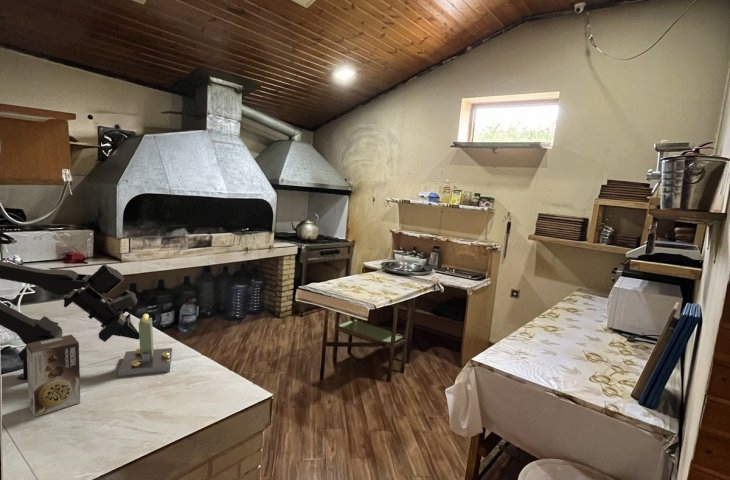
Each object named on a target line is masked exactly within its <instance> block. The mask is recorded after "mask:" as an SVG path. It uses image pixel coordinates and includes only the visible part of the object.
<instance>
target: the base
mask: <svg viewBox="0 0 730 480" xmlns="http://www.w3.org/2000/svg"><path fill="white" fill-rule="evenodd" d="M172 357H173V348H172V347H169V348H168V347H166V348H155V349H154V352H153V357H152V358H150V352H148V353H142V360H141V355H140V347H139V348H136V349H135V350H132V351H131V350H130V351H125V353H124V356H123V358H122V360H121V364H120V365H119V369H118V378H124V377H134V376H144V375H153V374H154V375H155V374H164V373H170V372H171V365H172V359H173V358H172Z"/></svg>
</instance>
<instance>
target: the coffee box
mask: <svg viewBox="0 0 730 480" xmlns="http://www.w3.org/2000/svg"><path fill="white" fill-rule="evenodd" d="M27 369H28V379H27V388H28V389H27V393H28V407H29V409H30V411H31V413H32V415H33V416H34V417H35V418H36V417H40V416H41V415H46V414H48V413H52V412H55V411H58V410H61V409H65V408H68V407H70V406H74V405H76V404H79V403H81V377H80V376H81V373H80V342H79V341H78V340H77V339H76V337H75V336H74V335H73V334H68V335H62V337H57V338H52V339H47V340H42V341H38V342H33V343H28V344H27Z"/></svg>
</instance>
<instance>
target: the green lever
mask: <svg viewBox="0 0 730 480" xmlns="http://www.w3.org/2000/svg"><path fill="white" fill-rule="evenodd" d="M138 332H139V339H138V340H139V348H140V355H141V360H142V353H148V352H150V358H152V357H153V352H154V335H153V333H154V331H153V318H152V317H150V315H149V314H148V313H144V314H143V315H142V317H141V318H140V319H139V322H138Z"/></svg>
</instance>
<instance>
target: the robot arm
mask: <svg viewBox="0 0 730 480" xmlns="http://www.w3.org/2000/svg"><path fill="white" fill-rule="evenodd" d="M0 280H6V281H12V282H17V283H22V284H28V285H32V286H35V287H38V288H40V289H41V290H43V291H45V292H47V293H52V294H54V295H57V296H64V297H63V307H64V308H67V307H69V305H71V304H72V303H73V304H74V305H76V306H77V307H78V308H80V309H81V310H82V311H84V312H85V313H86V314H87V315H88V316H87V317H88V318H89V319H90V320H92V319H95V320H96V321H97V322H99V323H100V327H101V329H100V330H99V332H98V339H99V340H101V341H102V342H104V343H105V342H107V341H108V340H109V339H111V337H112V336H116V337H123V338H128V339H131V340H132V339H133V340H139V330H138V329H137V328H136V327H135V326H134V324H133V322H132V321H131V315H132V313H131V312H129V313H128V314H127V315H126V314H125V313H126V312H127V311H130V310H131V309H132V308H133V307H134V306H136V305H137V304H138V303H139V300H138V299H137V295H136V293H134V291H130V290H128V289H125V290H123V291H121V293H120V296H118V297H117V298H116V299H113V298H111V297H107V298H106V297H104V296H103V294H109V293H110V292H111V291H113V290H114V289H115V288H116V287H118V286H119V285H120V284H121V283H122V282H124V280H125V277H124V276H123V274H122V273H121V272H120V271H119V270H118V269H115V268H113V267H112V266H110V265H109V266H108V265H107V264H106V263H103V264H102V265H101V266H100V267H99V268H98V270H97V271H95V272H94V273H93V274H86V273H85V274H84V273H83V274H82V273H78V272H76V271H74V270H71V269H61V268H60V269H59V268H57V269H56V268H52V269H51V268H50V269H49V268H48V269H43V268H36V267H31V266H26V265H20V264H16V263H11V262H6V261H3V260H2V261H1V260H0ZM87 284H88V286H86V285H87ZM85 286H86V287H85ZM84 287H85V288H84ZM83 288H84V289H83ZM73 291H74V292H73ZM72 292H73V293H72ZM71 293H72V294H71ZM69 294H71V295H69ZM59 324H60V323H59V322H55V321H53V320H52V319H50V318H48V317H47V316H42V317H41V318H40V319H35V318H32V317H29V316H27V315H25V314H23V313H22V312H20V311H18V310H16V309H14V308H12V307H10V306H8V305H7V304H5V303H3V302H1V301H0V326H1V327H3V328H4V329H7V330H9V331H10V332H13V333H15V334H16V335H17V336H18V337H19V339H20V340H21V342H22V343H23V344H25V345H26V346H24V348H22V350H20V351H19V353H18V357H19V359H20V360H21V361H22V368H23V371H22V373H21V374H20V375H19V376H17V380H28V369H27V344H28V343H33V342H38V341H42V340H47V339H52V338H57V337H62V336H63V329H62V327H61V326H60V325H59Z"/></svg>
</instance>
